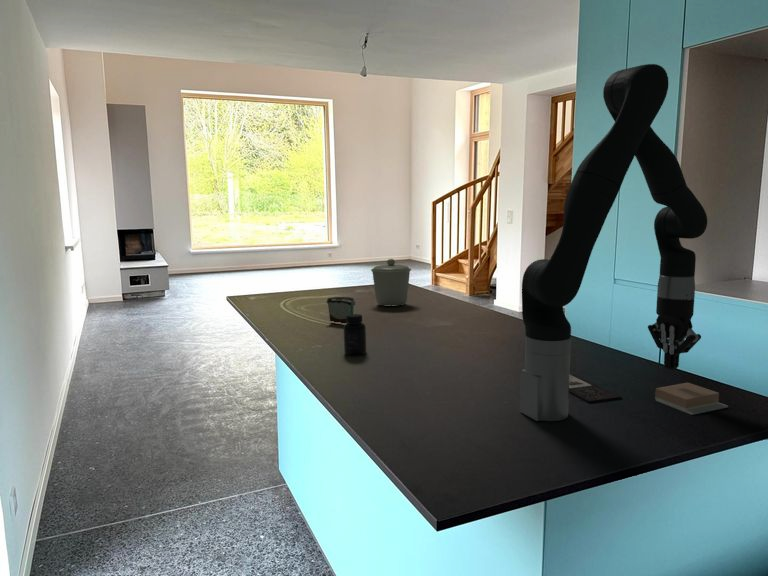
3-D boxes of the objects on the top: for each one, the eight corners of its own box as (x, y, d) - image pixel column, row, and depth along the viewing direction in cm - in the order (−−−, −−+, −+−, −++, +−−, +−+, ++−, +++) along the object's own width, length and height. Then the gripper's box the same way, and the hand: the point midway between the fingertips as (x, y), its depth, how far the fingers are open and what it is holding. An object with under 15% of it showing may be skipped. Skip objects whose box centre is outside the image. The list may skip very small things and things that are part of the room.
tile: (655, 398, 126) (685, 410, 119) (655, 388, 126) (686, 399, 119) (687, 392, 130) (718, 403, 122) (687, 382, 129) (719, 392, 122)
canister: (368, 308, 243) (367, 261, 240) (375, 301, 261) (374, 257, 257) (409, 309, 240) (408, 261, 237) (413, 301, 258) (413, 256, 254)
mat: (691, 414, 117) (691, 413, 117) (655, 400, 126) (655, 399, 126) (728, 407, 121) (728, 405, 121) (690, 393, 130) (690, 392, 129)
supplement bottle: (371, 353, 170) (370, 315, 169) (355, 357, 165) (354, 318, 164) (355, 349, 175) (354, 312, 173) (339, 353, 170) (338, 315, 168)
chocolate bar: (588, 401, 125) (544, 377, 142) (588, 405, 125) (543, 381, 142) (621, 396, 127) (574, 374, 144) (621, 400, 127) (574, 377, 144)
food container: (362, 323, 213) (361, 298, 211) (353, 326, 208) (352, 300, 206) (336, 320, 219) (336, 295, 218) (327, 323, 214) (326, 298, 213)
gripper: (639, 292, 130) (636, 363, 132) (688, 301, 118) (683, 379, 120) (663, 289, 132) (659, 359, 135) (714, 298, 120) (708, 374, 123)
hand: (671, 368), depth 128 cm, fingers closed
